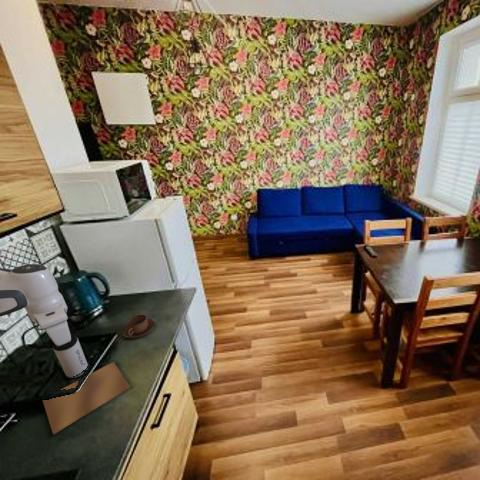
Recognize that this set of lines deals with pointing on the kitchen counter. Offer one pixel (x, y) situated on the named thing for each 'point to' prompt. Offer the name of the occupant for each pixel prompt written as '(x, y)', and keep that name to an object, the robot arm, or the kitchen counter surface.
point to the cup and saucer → (138, 326)
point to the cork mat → (85, 397)
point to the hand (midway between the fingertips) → (63, 341)
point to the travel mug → (70, 356)
